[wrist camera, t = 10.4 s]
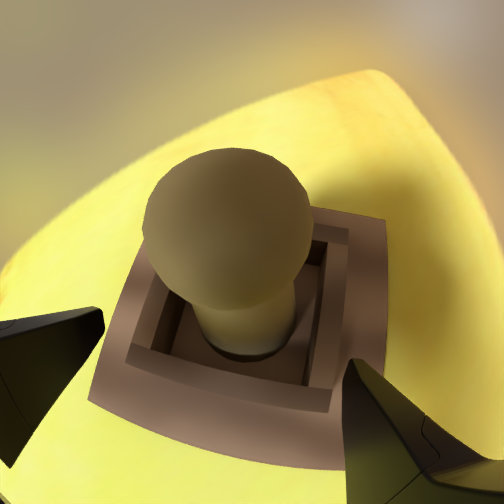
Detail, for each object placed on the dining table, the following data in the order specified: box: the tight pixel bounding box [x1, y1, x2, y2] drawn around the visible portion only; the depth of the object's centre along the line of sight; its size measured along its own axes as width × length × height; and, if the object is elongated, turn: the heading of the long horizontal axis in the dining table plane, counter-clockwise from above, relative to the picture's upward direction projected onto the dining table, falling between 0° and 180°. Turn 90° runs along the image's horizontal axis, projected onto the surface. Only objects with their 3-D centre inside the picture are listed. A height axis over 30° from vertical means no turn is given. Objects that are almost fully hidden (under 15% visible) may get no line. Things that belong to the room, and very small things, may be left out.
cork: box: [142, 148, 314, 363], centre depth 12 cm, size 6×6×11 cm
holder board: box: [88, 206, 388, 471], centre depth 16 cm, size 18×18×4 cm
